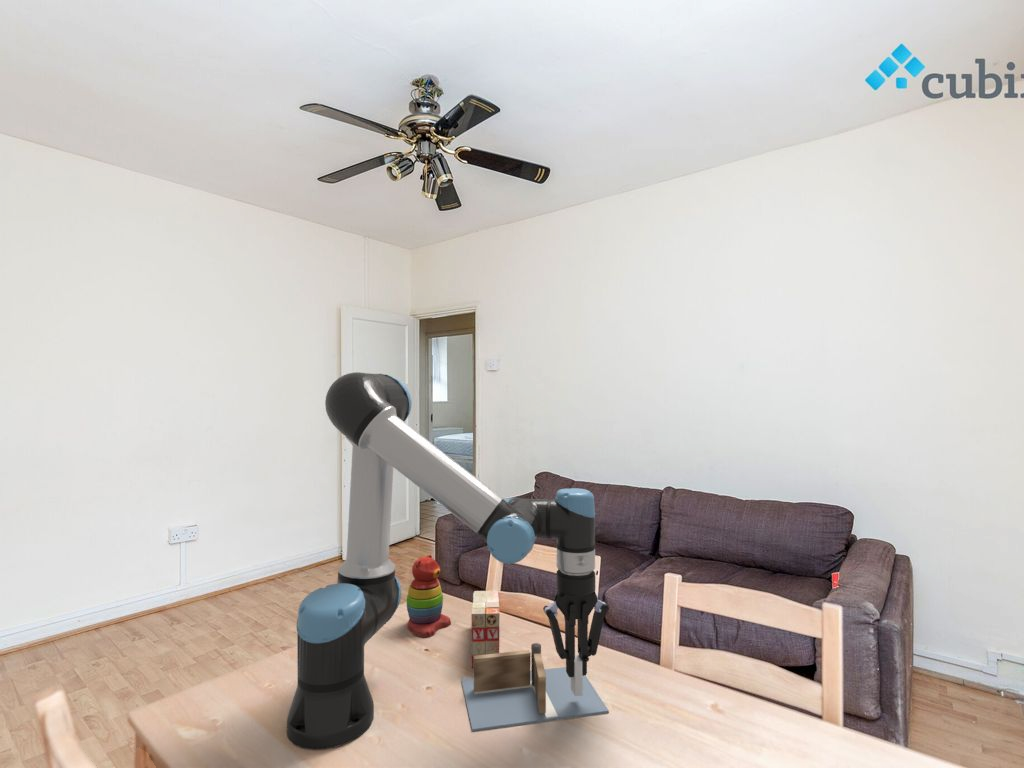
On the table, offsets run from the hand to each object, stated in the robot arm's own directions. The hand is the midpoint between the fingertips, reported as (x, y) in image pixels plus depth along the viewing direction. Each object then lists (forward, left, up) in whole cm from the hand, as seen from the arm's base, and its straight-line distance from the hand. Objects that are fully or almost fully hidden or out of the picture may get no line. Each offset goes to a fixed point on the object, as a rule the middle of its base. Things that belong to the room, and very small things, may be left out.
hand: (576, 691), depth 103 cm
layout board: (-8, +5, -3) cm, 10 cm away
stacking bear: (-27, +41, -3) cm, 49 cm away
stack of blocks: (-13, +28, -3) cm, 31 cm away
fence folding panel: (-7, +2, -2) cm, 7 cm away
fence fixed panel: (-12, +8, -2) cm, 15 cm away
